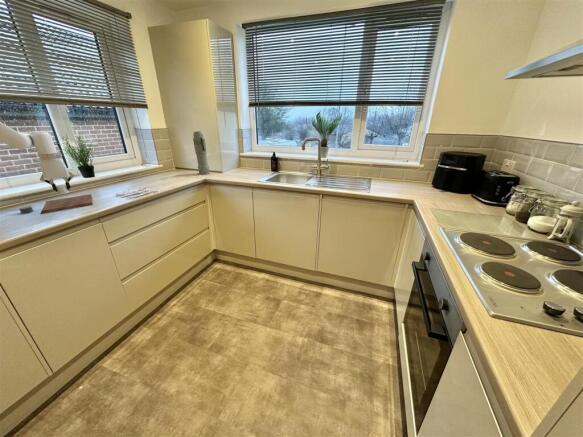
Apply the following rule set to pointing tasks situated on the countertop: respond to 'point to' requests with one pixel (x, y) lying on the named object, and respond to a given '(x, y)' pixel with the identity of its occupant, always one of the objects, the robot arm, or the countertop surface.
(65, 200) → the board
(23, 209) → the black stone
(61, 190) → the white stone
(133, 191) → the knife set
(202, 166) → the grey statue
